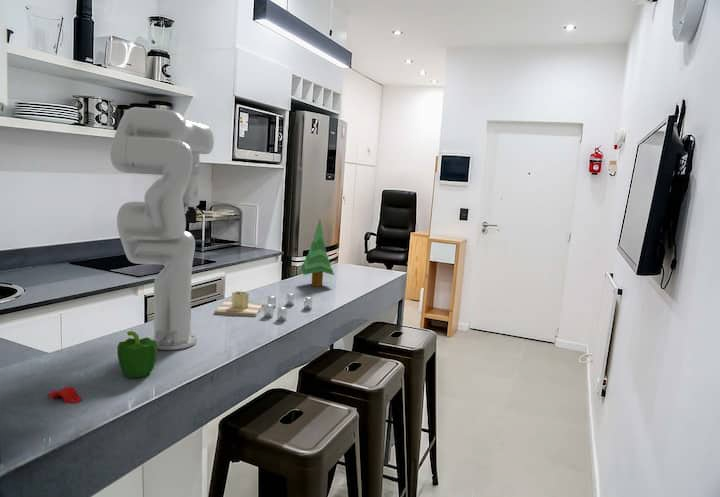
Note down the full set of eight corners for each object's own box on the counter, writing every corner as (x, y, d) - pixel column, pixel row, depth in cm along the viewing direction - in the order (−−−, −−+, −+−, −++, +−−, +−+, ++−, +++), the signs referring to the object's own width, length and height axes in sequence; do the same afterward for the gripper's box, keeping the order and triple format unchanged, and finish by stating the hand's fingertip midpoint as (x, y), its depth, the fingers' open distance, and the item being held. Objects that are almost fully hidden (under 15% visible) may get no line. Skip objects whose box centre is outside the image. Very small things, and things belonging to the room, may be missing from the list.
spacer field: (306, 322, 166) (307, 310, 166) (258, 319, 166) (258, 307, 166) (313, 304, 189) (313, 294, 189) (270, 302, 189) (270, 291, 188)
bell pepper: (163, 374, 118) (163, 333, 117) (128, 384, 112) (127, 340, 111) (146, 364, 124) (146, 325, 122) (112, 372, 118) (111, 331, 116)
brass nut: (246, 309, 174) (246, 295, 173) (229, 308, 174) (230, 294, 173) (249, 305, 179) (250, 291, 178) (233, 304, 179) (233, 290, 178)
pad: (255, 316, 170) (256, 313, 170) (214, 314, 170) (214, 311, 169) (263, 305, 184) (263, 303, 183) (225, 303, 183) (225, 301, 183)
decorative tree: (305, 280, 231) (308, 215, 226) (338, 284, 227) (342, 217, 223) (294, 286, 218) (297, 217, 213) (328, 290, 214) (332, 220, 210)
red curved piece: (44, 397, 104) (44, 387, 104) (56, 392, 107) (56, 383, 107) (73, 405, 102) (73, 395, 101) (85, 400, 104) (85, 390, 104)
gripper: (189, 170, 149) (188, 227, 152) (207, 170, 166) (206, 222, 169) (164, 168, 149) (163, 226, 152) (184, 169, 166) (183, 221, 169)
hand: (186, 224), depth 160 cm, fingers open, 9 cm apart
